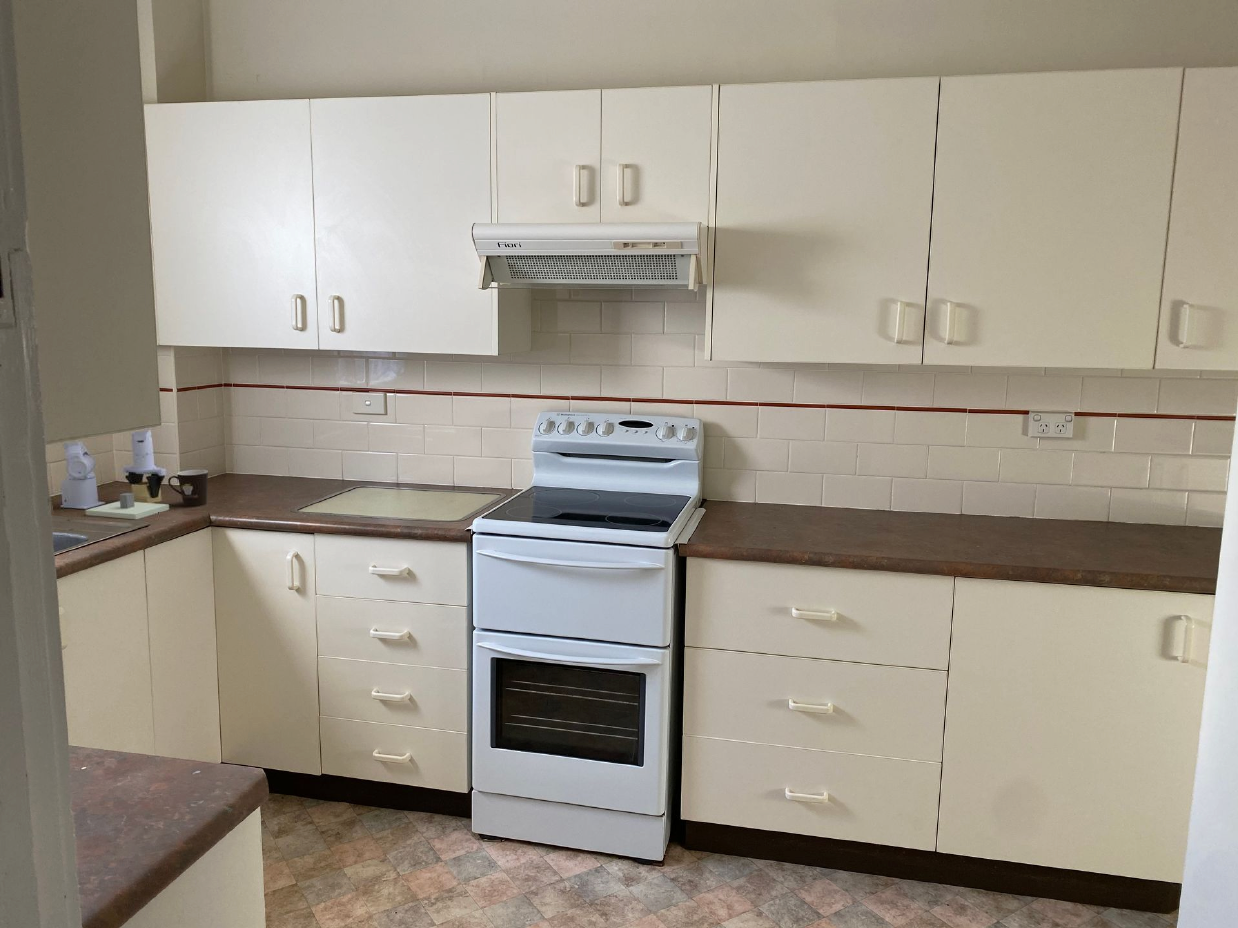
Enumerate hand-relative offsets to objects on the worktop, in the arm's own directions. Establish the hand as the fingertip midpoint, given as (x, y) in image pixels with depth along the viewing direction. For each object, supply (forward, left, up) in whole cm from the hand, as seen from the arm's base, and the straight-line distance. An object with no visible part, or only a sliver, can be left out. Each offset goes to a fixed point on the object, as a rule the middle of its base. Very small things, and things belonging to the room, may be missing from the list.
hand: (147, 496), depth 293 cm
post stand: (+5, -13, -2) cm, 14 cm away
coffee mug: (+15, +2, -2) cm, 15 cm away
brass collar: (0, 0, -2) cm, 2 cm away
